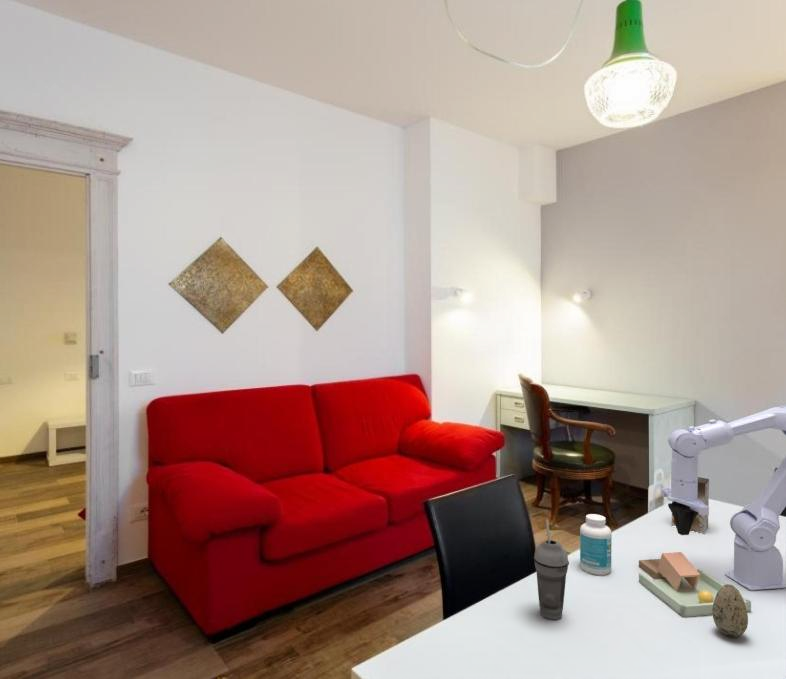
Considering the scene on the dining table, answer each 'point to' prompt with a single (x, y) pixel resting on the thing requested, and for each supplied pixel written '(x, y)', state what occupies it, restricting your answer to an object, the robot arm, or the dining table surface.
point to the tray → (686, 594)
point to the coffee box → (703, 495)
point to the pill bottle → (595, 545)
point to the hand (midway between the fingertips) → (683, 534)
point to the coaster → (651, 568)
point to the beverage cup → (551, 576)
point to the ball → (705, 597)
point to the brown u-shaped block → (678, 569)
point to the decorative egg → (730, 611)
